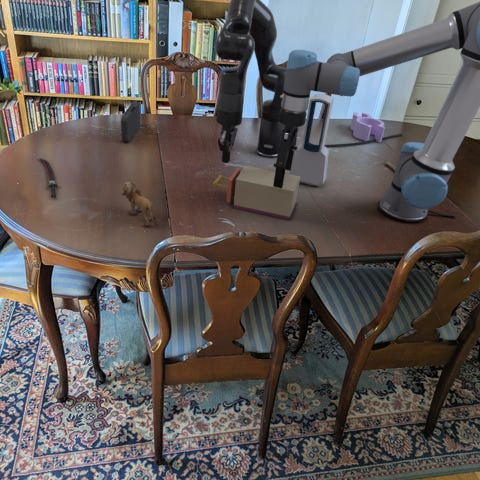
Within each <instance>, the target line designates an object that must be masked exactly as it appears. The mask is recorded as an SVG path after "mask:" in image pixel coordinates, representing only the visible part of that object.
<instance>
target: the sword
mask: <svg viewBox="0 0 480 480" xmlns="http://www.w3.org/2000/svg"><path fill="white" fill-rule="evenodd" d="M40 161H41V162H42V163H43V165H44V166H45V169H46V173H47V176H48V185H47V188H50V198H56V197H57V189H56V188H57V187H59V185H58V184H57V183H56V180H55V176H54V172H53V169H52V167H51V164H50V163H49V161H48V160H46V159H43V158H40Z"/></svg>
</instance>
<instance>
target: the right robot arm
mask: <svg viewBox="0 0 480 480" xmlns="http://www.w3.org/2000/svg"><path fill="white" fill-rule="evenodd" d="M448 49H454V50H455V51H458V50H460V53H459V55H460V57H461V60H462V63H461V65H460V67H459V69H458V72H457V74H456V76H455V78H454V81H453V82H452V84H451V86H450V87H449V91H448V93H447V95H446V97H445V99H444V101H443V103H442V105H441V108H440V110H439V112H438V113H437V114H438V115H437V116H436V118H435V120H434V122H433V124H432V126H431V129H430V131H429V133H428V135H427V137H426V139H425V141H424V142H416V141H407V142H405V143H404V144H402V147H401V150H400V151H399V156H398V160H397V163H396V166H395V167H396V170H395V171H394V173H393V177H392V180H391V182H390V183H391V184H390V186H389V187H388V188H387V190H386V192H385V193H383V196H382V197H381V198H380V201H379V204H378V208H379V210H380V211H381V213H382V214H384V215H385V216H386V217H388V218H391V219H393V220H396V221H399V222H402V223H403V222H404V223H410V224H411V223H420V222H423V221H425V220H426V218H427V216H428V213H431V214H435V215H438V216H442V217H448V218H455V217H456V215H455V214H448V213H441V212H438V211H435V210H432V209H431V208H435V207H437V206H438V205H440V204H441V203H442V202H443V201H444V200H445V199H446V197H447V195H448V188H449V187H448V182H449V180H450V178H451V176H452V174H453V172H454V171H455V168H456V166H455V163H454V161H453V160H454V158H455V156H456V154H457V152H458V150H459V148H460V146H461V144H462V143H463V141H464V139H465V136H466V135H467V133H468V131H469V129H470V128H471V125H472V123H473V121H474V120H475V118H476V115H477V114H478V112H479V110H480V1H478V2H475V3H473V4H470V5H468V6H465V7H463V8H460V9H458V10H455V11H452V12H450V13H449V14H448V15H447V17H446V18H444V19H441V20H438V21H435V22H432V23H429V24H427V25H423V26H420V27H418V28H417V27H416V28H414V29H412V30H408V31H405V32H402V33H399V34H397V35H394V36H390V37H388V38H384V39H382V40H379V41H376V42H373V43H370V44H367V45H365V46H361V47H359V48H355V49H353V50H350V51H347V52H344V53H340V52H337V53H333V54H332V55H331V56H330V57H329V58H328V59H327V60H326V62H321V61H318V55H317V53H315V52H314V51H310V50H305V49H293V50H291V52H289V53H288V58H287V63H286V67H285V68H286V74H285V81H284V88H283V95H281V96H280V98H281V99H282V103H281V107H282V108H281V109H280V114H279V122H280V123H281V124H284V129H283V131H282V137H281V143H280V147H279V151H278V156H277V157H276V160H275V163H273V167H274V168H275V170H274V171H275V177H274V184H273V187H278V188H282V187H283V181H284V176H285V173H286V171H289V172H290V171H291V166H292V162H293V159H294V155H295V151H296V150H297V147H298V146H296V145H297V138H298V132H299V129H298V128H300V127H304V125H306V120H307V114H308V108H309V103H310V99H311V93H312V92H317V93H322V94H330V95H335V96H340V97H354V96H356V93H357V89H358V86H359V81H360V77H362V76H366V75H369V74H373V73H375V72H379V71H381V70H385V69H388V68H391V67H394V66H397V65H402V64H405V63H408V62H411V61H413V60H417V59H420V58H424V57H426V56H430V55H432V54H433V55H434V54H436V53H439V52H442V51H446V50H448Z"/></svg>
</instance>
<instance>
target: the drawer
mask: <svg viewBox="0 0 480 480" xmlns="http://www.w3.org/2000/svg"><path fill="white" fill-rule="evenodd" d="M241 172H242V168H241V167H236V168H235V170H234V171H233V173H232V174H231V175H230V176H229V177H228V176H227V177H226V176H224V175H223V174H219V175H218V176H217V177H216V179H215V180H214V181H213V183H212V188H216V187H218V188H223V189H227V191H226V192H227V193H226V203H228V204H230V203H231V202H232V200H234V197H235V186H236V179H237V177H238V176H239V175H240V173H241ZM222 180H227V185H224V184H220V182H221V181H222Z"/></svg>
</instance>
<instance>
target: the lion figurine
mask: <svg viewBox="0 0 480 480" xmlns="http://www.w3.org/2000/svg"><path fill="white" fill-rule="evenodd" d="M119 193H120V194H121V196H122V197H124V196H125V198H126V199H127V200H128V202H129V203H130V207H131V211H130V212H129V213H130V215H135V214H136V211H137V212H141V214H142V216H143V218H144V219H145V223H144V225H145V227H149V226H150V221H152V223H153V225H155V226H159V222H156V221H155V219H154V217H153V216H154V215H153V204H152V202H151V200H150V199H148V198H146V197H145V196H144V195H143V194H142V192H141V190H140V187H138V185H136V184H135V183H133V182H132V181H125V182H124V186H122V188H121V189H119ZM136 207H137V208H136ZM148 214H149V216H148Z"/></svg>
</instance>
